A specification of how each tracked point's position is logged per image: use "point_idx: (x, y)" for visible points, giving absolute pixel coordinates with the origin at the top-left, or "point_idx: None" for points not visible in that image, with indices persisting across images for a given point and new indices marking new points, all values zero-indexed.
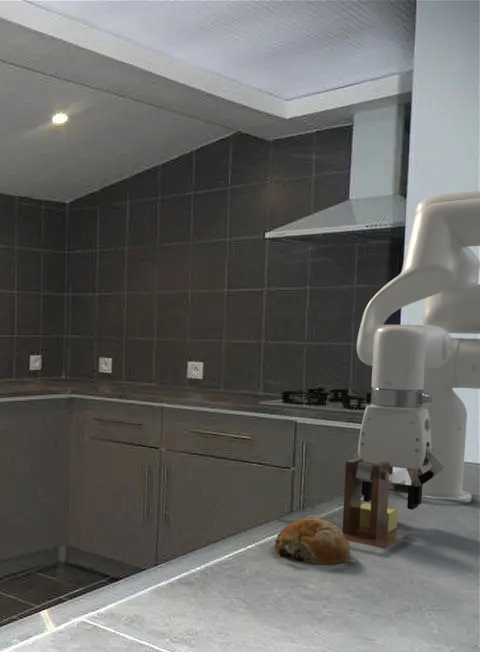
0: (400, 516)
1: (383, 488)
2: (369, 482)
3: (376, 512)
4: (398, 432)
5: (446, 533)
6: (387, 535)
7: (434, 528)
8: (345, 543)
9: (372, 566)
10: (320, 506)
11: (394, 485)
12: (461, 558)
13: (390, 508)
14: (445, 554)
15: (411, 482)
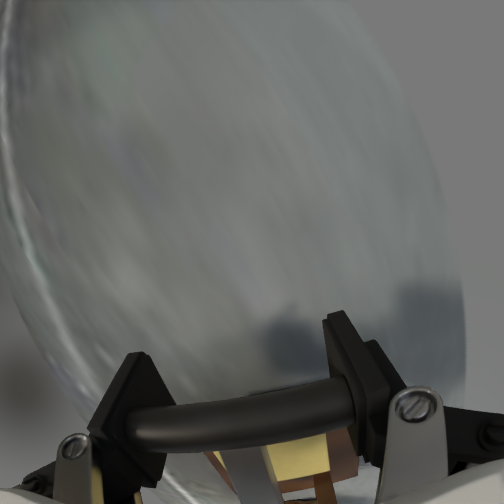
0: (170, 137)
1: None
2: (161, 473)
3: None
4: None
5: (391, 218)
6: (329, 441)
7: (341, 190)
8: None
9: (357, 487)
10: (10, 278)
11: (263, 447)
12: (453, 377)
13: (307, 446)
14: (431, 385)
15: (371, 462)
